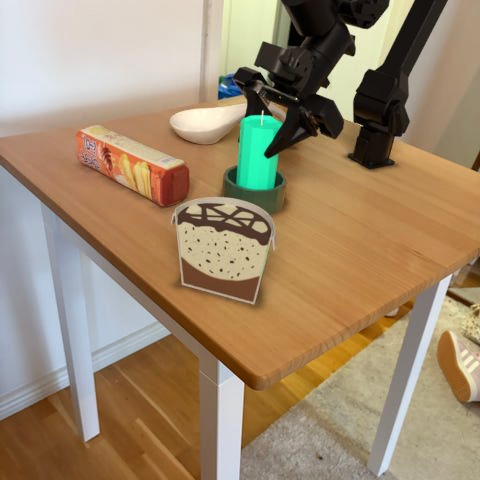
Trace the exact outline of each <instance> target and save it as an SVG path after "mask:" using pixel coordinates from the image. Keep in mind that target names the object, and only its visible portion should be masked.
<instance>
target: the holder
mask: <svg viewBox="0 0 480 480" xmlns="http://www.w3.org/2000/svg"><path fill="white" fill-rule="evenodd" d="M237 166H238V164H236V165H232V166H230V167H228V168H226V169H225V171H224V173H223V174H222V175H223V176H222V187H221V188H222V191H221V197H226V198H234V199H239V200H243V201H246V202H249V203H252V204H254V205H256V206H258V207H260V208H262V209H263V210H264V211H266V212H267V213H268V214H269V215H272V214H275V213H277V212H279V211H281V209H282V208H283V206H284V202H285V196H286V189H287V182H288V179H287V178H286V177H287V176H285V174H284V173H282V172H281V171H280V170H278V169H277V172H276V180H275V188H271V189H249V188H244V187H241V186H239V185H236V179H237Z"/></svg>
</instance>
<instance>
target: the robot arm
mask: <svg viewBox="0 0 480 480" xmlns="http://www.w3.org/2000/svg"><path fill="white" fill-rule="evenodd" d="M280 2H281V3H282V5H283V7H284V9H285V11H286V13H287V16H288V17H289V19H290V20H291V22H292V24H293V26H294V28H295V30H296V32H297V33H298V34H299V35H300V36H301V37H304V38H305V39H304V40H303V41H302V43H301V45H300V46H294V48H293V47H291V48H290V49H287V48H285V47H282V46H279V45H277V44H273V43H271V42H267V41H264V40H263V41H262V42H261V45H260V46H259V49H258V52H257V54H256V57H255V60H254V63H253V66H255V67H256V68H261V69H263V70H265V71H267V72H268V74H267V78H268V79H269V81H270V82H271V83H273V84H274V85H273V86H272V85H270V84H269V83H268V81H267V79H266V78H265V77H264V75H263V73H262V72H261V71H259V70H256V69H254V68H250V67H248V66H240V67H238V69H237V70H236V71H235V73H234V74H233V76H232V77H231V81H232V82H233V84H234V85H235V86H236V87H237V88H238V90H239V91H240V93H241V94H242V95H243V97H244V98H245V100H246V103H247V108H246V113H245V117H244V118H246V117H248V116H252V115H262V111H263V115H266V116H272V117H273V116H274V115H272V113H271V112H270V110H269V109H268V106H269V105H270V104H271V103H274V104H276V105H279V106H281V107H283V108H285V109H286V112H285V113H286V118H285V121H284V123H283V124H282V126H281V127H280V129H279V130H278V132H277V133H276V135H275V137H274V139H273V141H272V142H271V143H270V145H269V146H268V147H267V149H266V151H265V153H264V156H265V157H266V158H267V159H269V158H271V157H273V156H274V155H276V154H278V153H279V154H280V153H282V152H284V151H285V150H287V149H289V148H290V147H293V146H294V145H296V144H299V143H300V142H302V141H305V140H306V139H309V138H311V137H314V138H317V137H318V136H319V133H320V134H321V135H323V136H324V137H327V138H330V139H331V140H334V141H336V140H337V139H338V137H339V136H340V135H341V133H342V131H343V130H344V126H345V119H344V116H343V115H342V113H341V111H340V109H339V108H338V105H337V104H336V102H335V100H334V99H331V98H329V97H326V96H323V95H320V94H318V92H319V90H320V89H321V88H323V89H326V90H327V89H328V88H329V86H330V85H331V81H330V79H329V78H328V77H329V76H330V75H331V73H332V72H333V70H334V69H335V67H336V66H337V65H338V63H339V62H340V60H341V59H342V57H343V56H344V55H346V56H348V57H352V58H353V57H355V55H356V51H357V47H356V35H354V34H351V32H350V30H349V27H348V26H351V27H355V28H359V29H362V30H369V29H371V28H372V27H374V26H375V25H376V24H377V22H378V21H379V20H380V19H381V17H382V16H383V14H384V13H385V12H386V11H387V10H388V9H389V6H390V2H391V0H280ZM448 2H449V0H413V2H412V4H411V6H410V8H409V10H408V13H407V14H406V16H405V18H404V20H403V22H402V25H401V26H400V28H399V31H398V33H397V35H396V36H395V38H394V41H393V42H392V44H391V46H390V48H389V50H388V53H387V55H386V56H385V59H384V60H383V62H382V64H381V65H379V66H378V67H377V68H375V69H372V68H368V69H367V70H366V71H365V72H364V74H363V77H362V79H361V82H360V84H359V85H358V87H357V88H356V89H355V92H356V93H355V94H354V96H353V99H352V120H353V121H352V122H353V123H354V124H357V125H359V126H360V127H359V132H358V135H357V136H356V140H355V145H354V149H353V152H349V153H348V154H347V157H348V158H349V159H351V160H353V161H355V162H357V163H358V164H360V165H361V166H364V167H366V168H367V169H369V170H373V169H379V168H382V167H387V166H393V165H395V163H396V161H395V160H394V159H392V158H391V152H392V149H393V145H394V141H395V139H396V137H397V138H402V137H403V135H404V134H406V132H407V130H408V128H409V125H410V123H411V120H410V118H409V114H408V112H407V108H406V104H407V102H408V99H409V96H410V93H409V91H410V90H409V89H410V86H409V78H410V75H411V73H412V72H413V69H414V67H415V65H416V64H417V61H418V59H419V57H420V56H421V54H422V52H423V50H424V49H425V46H426V44H427V43H428V40H429V38H430V36H431V34H432V33H433V30H434V28H435V26H436V25H437V23H438V21H439V19H440V17H441V15H442V14H443V11H444V9H445V7H446V6H447V3H448ZM318 130H319V133H318ZM239 140H240V134H239V135H238V139H237V142H238V144H239ZM292 145H293V146H292Z"/></svg>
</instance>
